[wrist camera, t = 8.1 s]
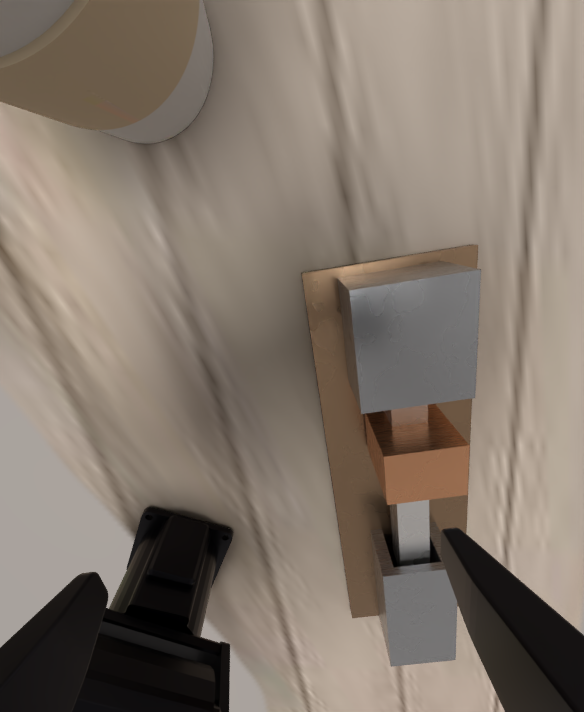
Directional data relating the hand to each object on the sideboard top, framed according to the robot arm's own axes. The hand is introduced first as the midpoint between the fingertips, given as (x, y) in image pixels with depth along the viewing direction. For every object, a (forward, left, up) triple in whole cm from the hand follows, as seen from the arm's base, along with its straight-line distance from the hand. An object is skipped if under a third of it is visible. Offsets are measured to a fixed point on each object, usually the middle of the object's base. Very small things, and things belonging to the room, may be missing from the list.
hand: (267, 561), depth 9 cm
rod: (-2, -9, -11) cm, 15 cm away
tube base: (-4, -10, -12) cm, 16 cm away
